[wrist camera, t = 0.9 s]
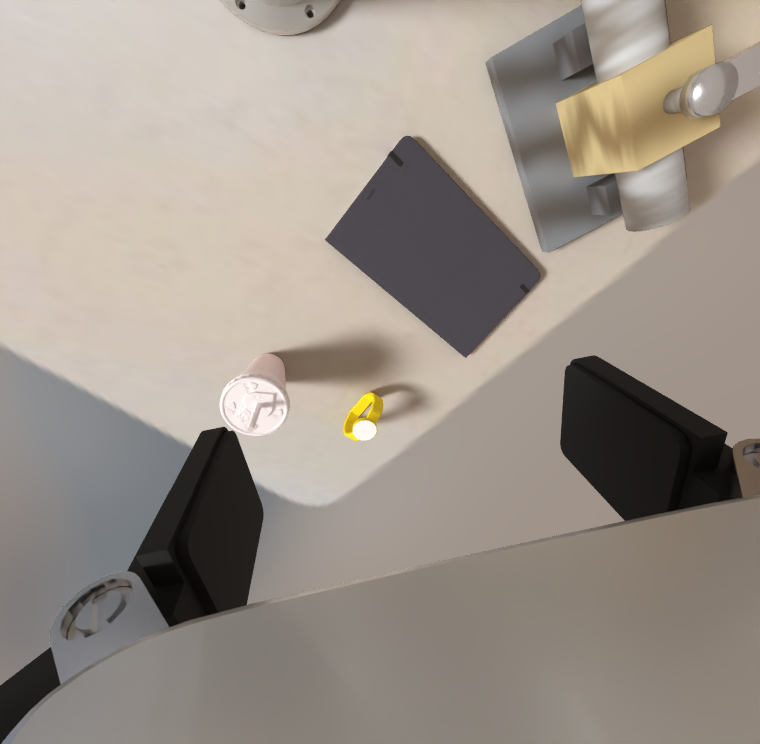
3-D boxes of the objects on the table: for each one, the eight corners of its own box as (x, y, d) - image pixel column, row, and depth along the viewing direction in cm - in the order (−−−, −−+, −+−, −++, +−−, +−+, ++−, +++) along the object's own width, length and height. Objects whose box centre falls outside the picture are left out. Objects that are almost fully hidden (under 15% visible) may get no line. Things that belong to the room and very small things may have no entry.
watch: (355, 425, 50) (356, 454, 45) (338, 414, 49) (337, 443, 44) (385, 393, 48) (390, 420, 43) (368, 381, 47) (371, 407, 42)
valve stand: (485, 62, 36) (559, -3, 24) (647, -31, 35) (803, -145, 23) (542, 251, 44) (617, 267, 32) (675, 180, 42) (803, 172, 31)
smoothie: (307, 372, 46) (300, 437, 33) (265, 402, 47) (243, 476, 34) (271, 331, 43) (248, 384, 31) (227, 363, 44) (188, 428, 32)
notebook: (324, 238, 41) (461, 353, 48) (324, 239, 39) (465, 358, 47) (403, 133, 38) (537, 273, 45) (406, 131, 36) (543, 275, 44)
